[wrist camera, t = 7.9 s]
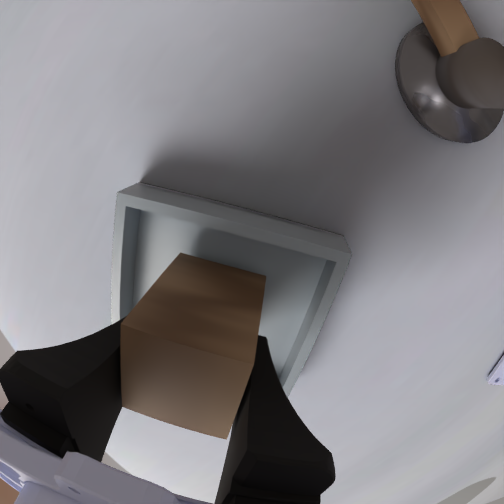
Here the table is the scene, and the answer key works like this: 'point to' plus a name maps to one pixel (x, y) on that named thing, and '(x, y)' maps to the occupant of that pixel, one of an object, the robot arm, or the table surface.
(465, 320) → the table surface
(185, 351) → the block
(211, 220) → the tray
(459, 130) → the crank base
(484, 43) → the crank lever
